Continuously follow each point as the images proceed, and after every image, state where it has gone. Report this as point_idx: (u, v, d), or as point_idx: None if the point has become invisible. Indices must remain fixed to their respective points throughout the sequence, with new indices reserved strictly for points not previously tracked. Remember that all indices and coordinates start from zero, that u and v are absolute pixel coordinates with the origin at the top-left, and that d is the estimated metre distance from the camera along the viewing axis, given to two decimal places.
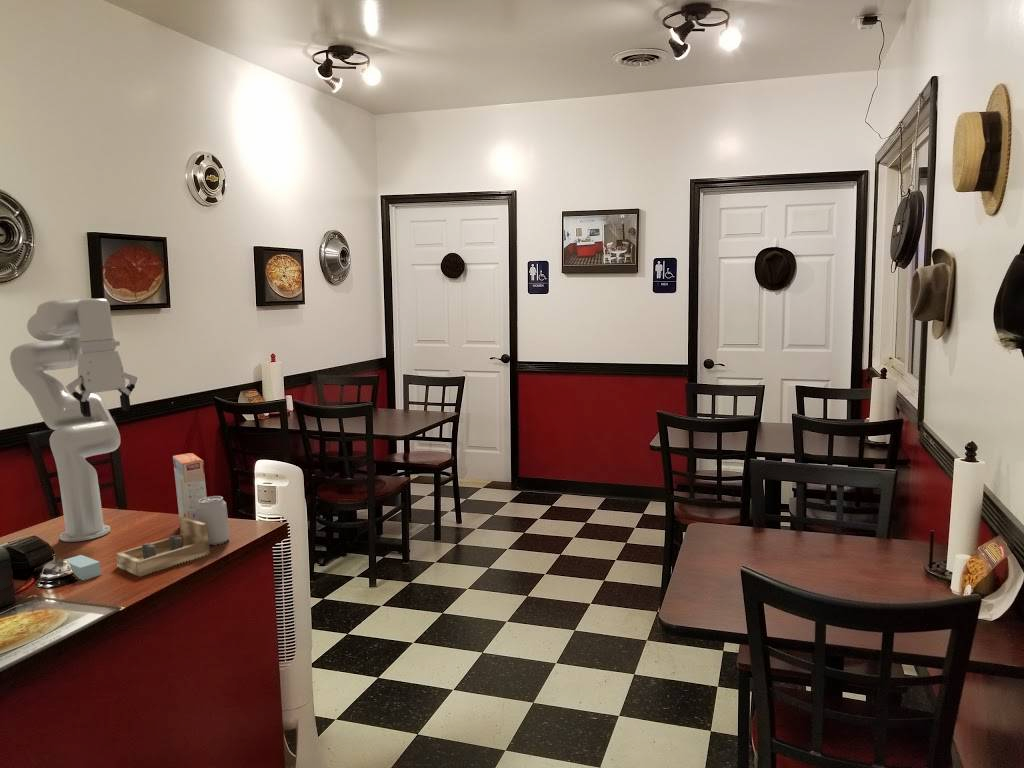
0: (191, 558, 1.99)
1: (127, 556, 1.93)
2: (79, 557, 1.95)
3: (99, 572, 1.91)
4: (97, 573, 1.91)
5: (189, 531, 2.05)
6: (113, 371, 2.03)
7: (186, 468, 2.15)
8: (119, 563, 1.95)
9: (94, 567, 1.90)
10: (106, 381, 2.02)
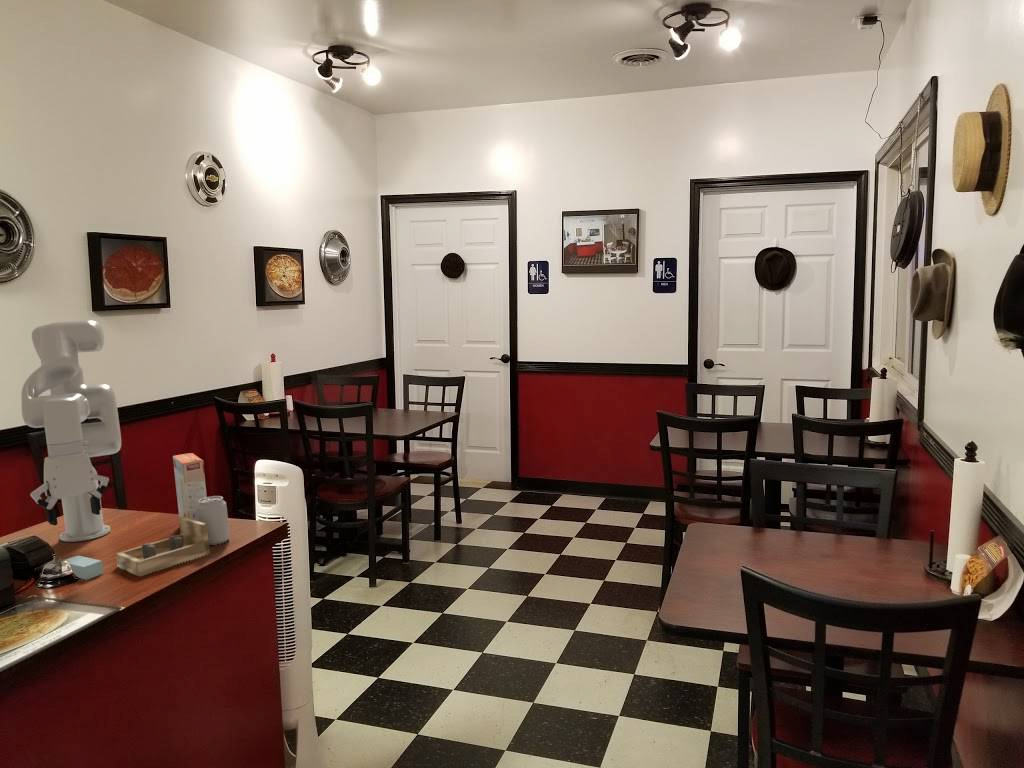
0: (191, 558, 1.99)
1: (127, 556, 1.93)
2: (77, 558, 1.95)
3: (101, 571, 1.92)
4: (99, 572, 1.92)
5: (189, 531, 2.05)
6: (82, 475, 1.90)
7: (186, 468, 2.15)
8: (119, 563, 1.95)
9: (96, 566, 1.91)
10: (75, 486, 1.88)
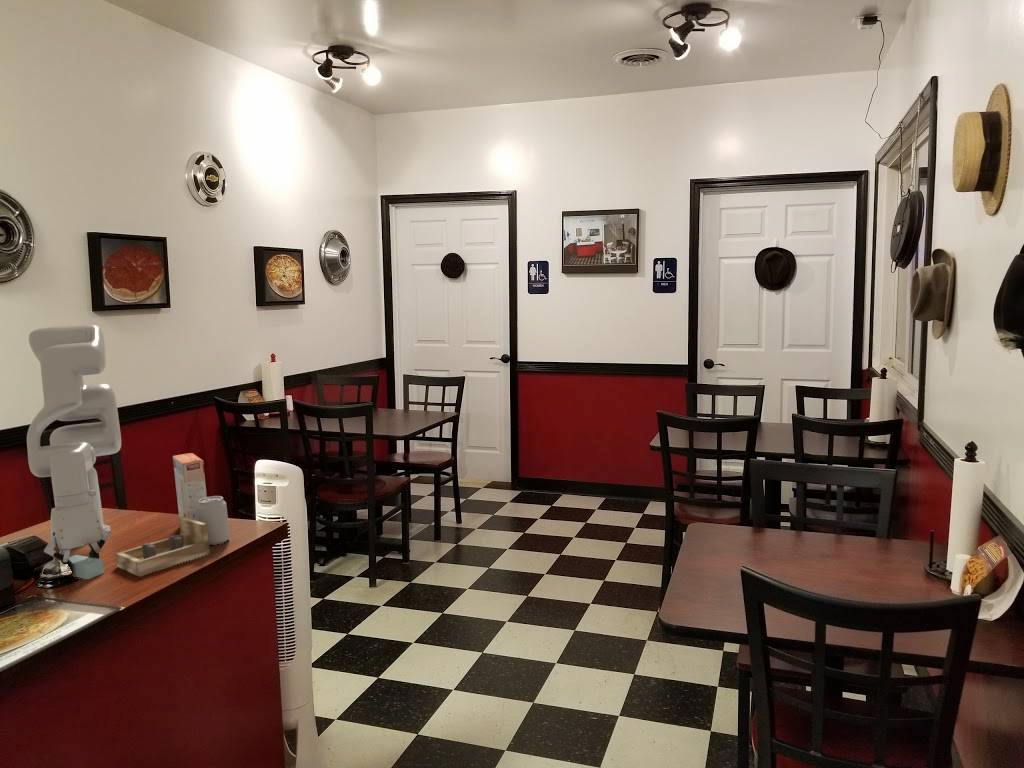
0: (191, 558, 1.99)
1: (127, 556, 1.93)
2: (75, 557, 1.95)
3: (101, 570, 1.92)
4: (100, 571, 1.92)
5: (189, 531, 2.05)
6: (88, 525, 1.91)
7: (186, 468, 2.15)
8: (119, 563, 1.95)
9: (97, 565, 1.91)
10: (81, 536, 1.90)
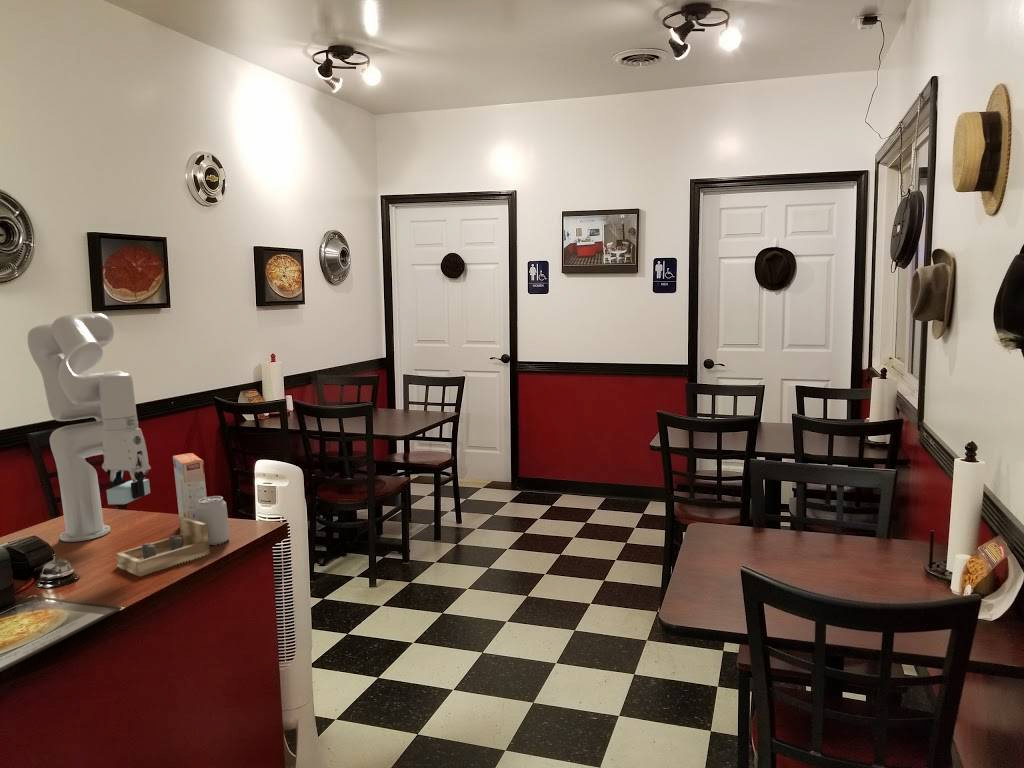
0: (191, 558, 1.99)
1: (127, 556, 1.93)
2: None
3: (122, 500, 1.90)
4: (121, 501, 1.90)
5: (189, 531, 2.05)
6: (122, 452, 1.91)
7: (186, 468, 2.15)
8: (119, 563, 1.95)
9: (118, 494, 1.90)
10: (117, 461, 1.91)
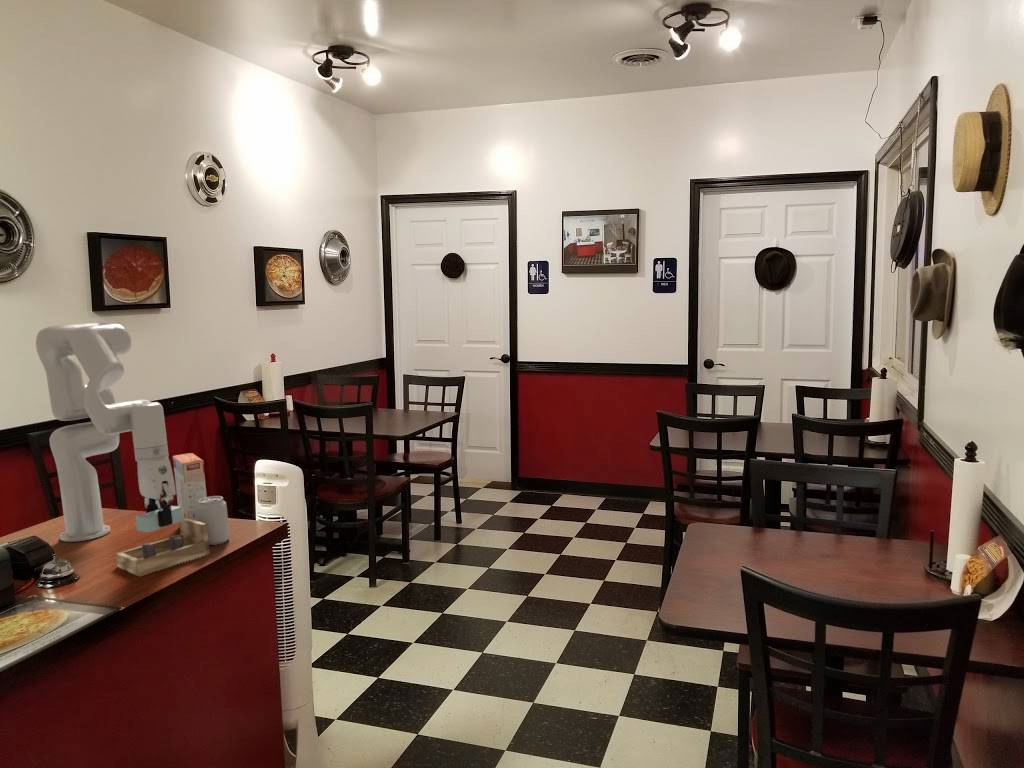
0: (191, 558, 1.99)
1: (127, 556, 1.93)
2: (172, 508, 2.00)
3: (147, 528, 1.93)
4: (146, 528, 1.93)
5: (189, 531, 2.05)
6: (149, 481, 1.94)
7: (186, 468, 2.15)
8: (119, 563, 1.95)
9: (144, 521, 1.93)
10: (146, 489, 1.95)
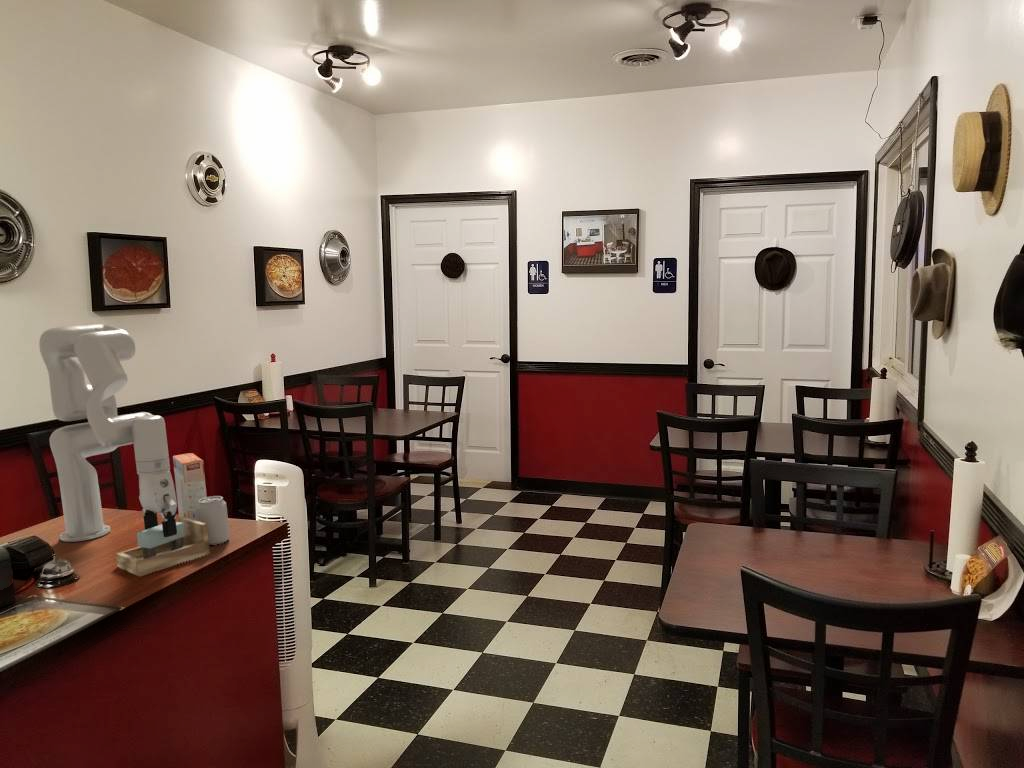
0: (191, 558, 1.99)
1: (127, 556, 1.93)
2: None
3: (148, 544, 1.93)
4: (147, 545, 1.94)
5: (189, 531, 2.05)
6: (151, 494, 1.94)
7: (186, 468, 2.15)
8: (119, 563, 1.95)
9: (145, 538, 1.94)
10: (148, 502, 1.95)
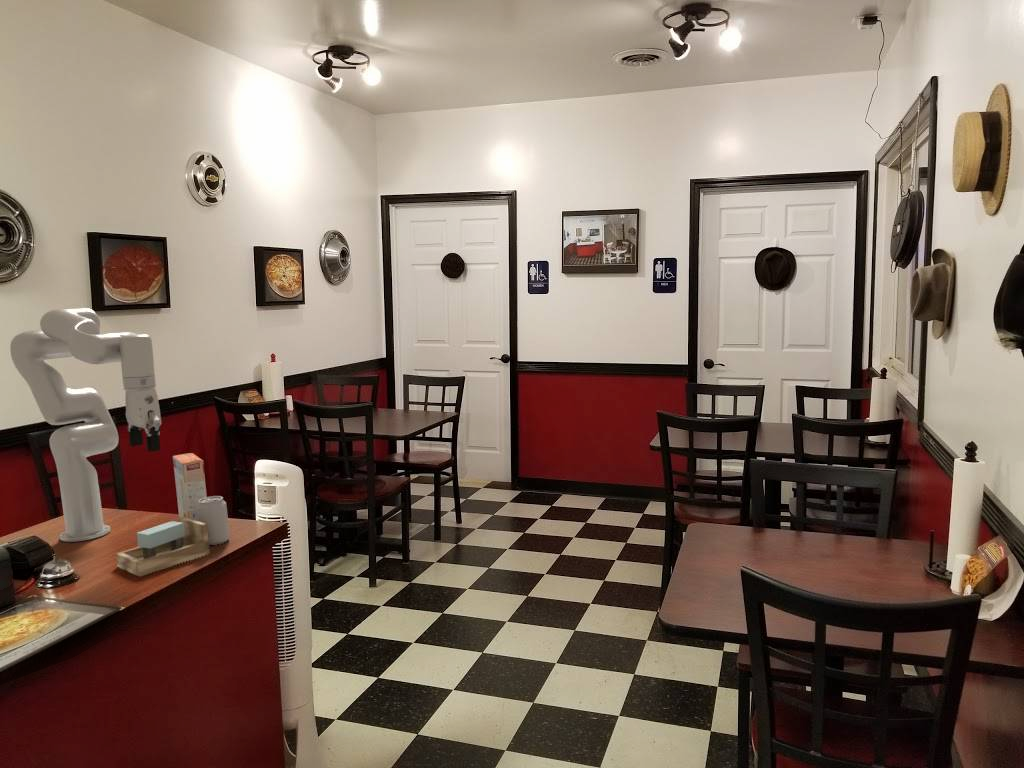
0: (191, 558, 1.99)
1: (127, 556, 1.93)
2: (173, 524, 2.00)
3: (148, 544, 1.93)
4: (147, 545, 1.94)
5: (189, 531, 2.05)
6: (136, 409, 2.01)
7: (186, 468, 2.15)
8: (119, 563, 1.95)
9: (145, 538, 1.94)
10: (133, 418, 2.02)
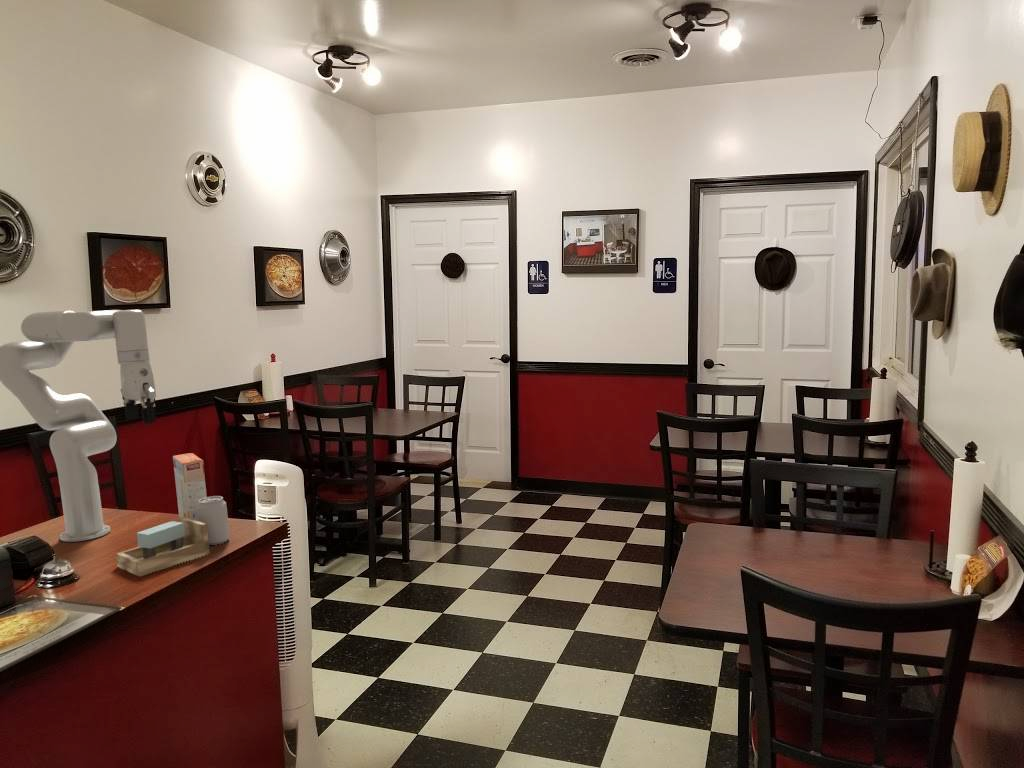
0: (191, 558, 1.99)
1: (127, 556, 1.93)
2: (173, 524, 2.00)
3: (148, 544, 1.93)
4: (147, 545, 1.94)
5: (189, 531, 2.05)
6: (131, 383, 2.06)
7: (186, 468, 2.15)
8: (119, 563, 1.95)
9: (145, 538, 1.94)
10: (128, 391, 2.08)
